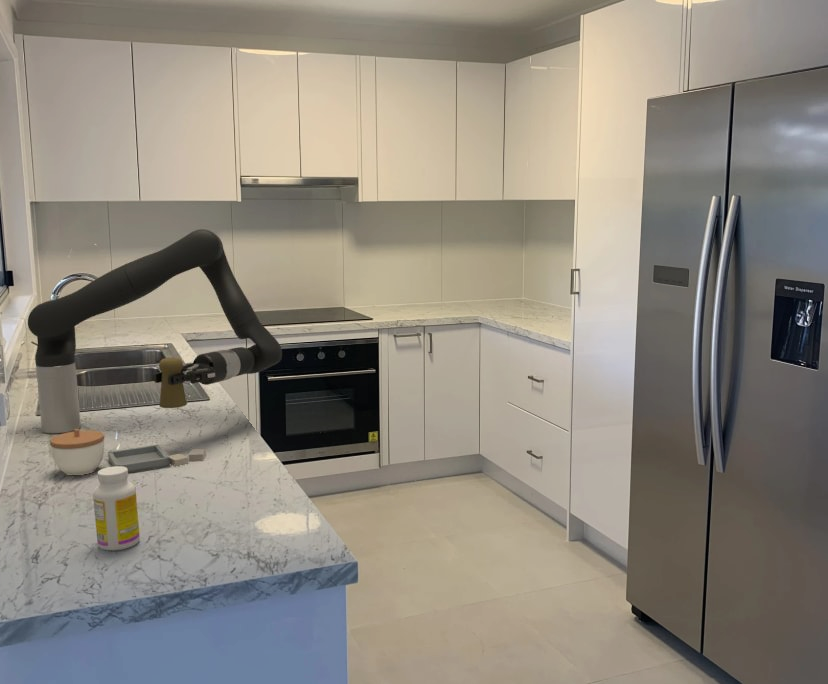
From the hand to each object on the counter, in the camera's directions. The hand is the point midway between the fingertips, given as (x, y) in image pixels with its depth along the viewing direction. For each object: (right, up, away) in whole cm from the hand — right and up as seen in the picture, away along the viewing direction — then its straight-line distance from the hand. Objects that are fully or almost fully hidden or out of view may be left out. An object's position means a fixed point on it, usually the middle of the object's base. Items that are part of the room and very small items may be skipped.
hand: (162, 379), depth 182 cm
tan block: (+5, -19, -4) cm, 20 cm away
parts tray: (-4, -18, -4) cm, 19 cm away
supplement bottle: (+7, -26, -47) cm, 54 cm away
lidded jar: (-15, -20, -8) cm, 26 cm away
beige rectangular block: (+8, -18, 0) cm, 20 cm away
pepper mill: (+1, -6, +3) cm, 7 cm away
